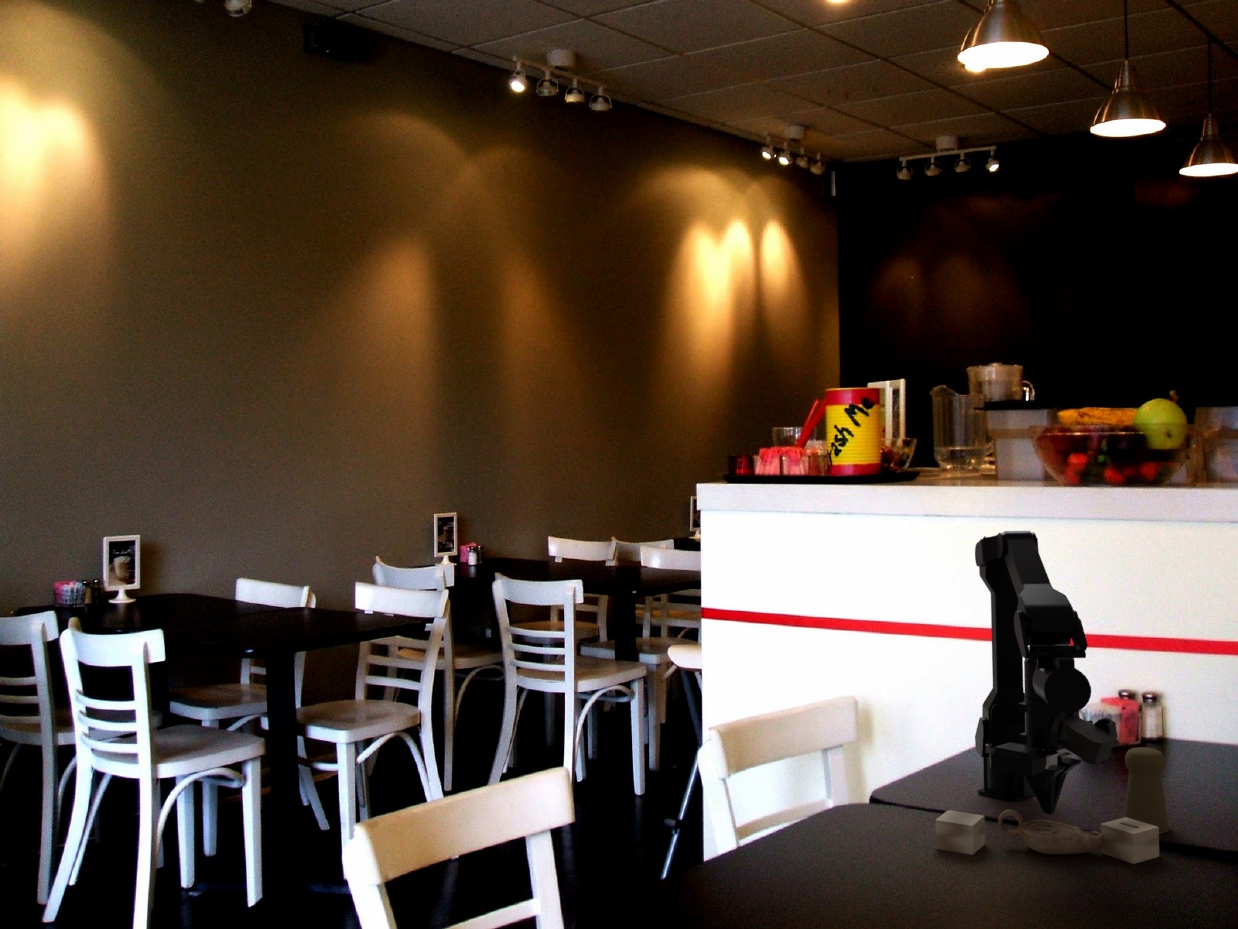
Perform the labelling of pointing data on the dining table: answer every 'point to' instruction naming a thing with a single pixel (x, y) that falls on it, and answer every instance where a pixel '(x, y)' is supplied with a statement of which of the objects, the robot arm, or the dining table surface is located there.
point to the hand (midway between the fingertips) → (1048, 813)
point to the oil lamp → (1051, 835)
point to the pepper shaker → (1146, 787)
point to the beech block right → (1130, 840)
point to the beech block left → (960, 832)
